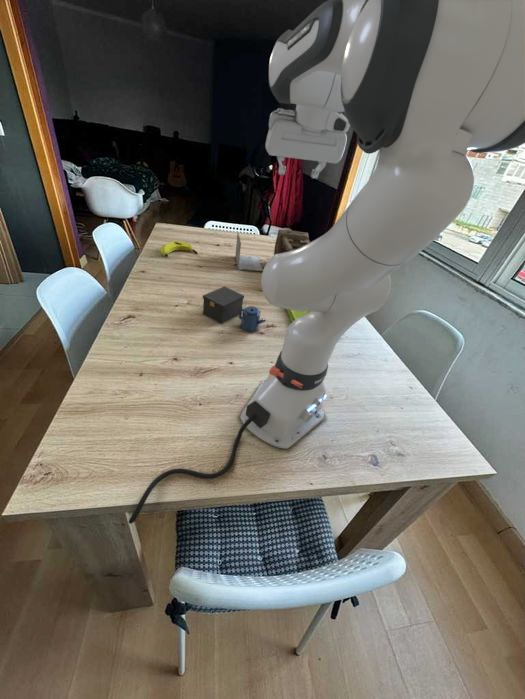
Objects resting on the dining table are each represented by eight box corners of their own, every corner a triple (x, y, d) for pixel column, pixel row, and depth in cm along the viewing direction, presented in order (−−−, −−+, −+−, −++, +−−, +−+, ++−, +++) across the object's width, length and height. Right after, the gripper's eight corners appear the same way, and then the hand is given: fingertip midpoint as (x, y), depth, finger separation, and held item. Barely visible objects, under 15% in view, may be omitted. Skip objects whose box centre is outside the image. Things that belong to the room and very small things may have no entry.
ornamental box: (316, 298, 135) (332, 261, 124) (280, 291, 130) (294, 251, 119) (299, 266, 162) (311, 233, 151) (269, 259, 157) (279, 225, 146)
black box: (221, 324, 101) (222, 306, 97) (201, 314, 105) (201, 295, 101) (242, 313, 110) (244, 295, 105) (223, 303, 113) (224, 286, 109)
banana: (155, 246, 138) (184, 259, 137) (174, 235, 151) (200, 246, 150) (155, 255, 141) (183, 267, 141) (174, 243, 154) (199, 254, 153)
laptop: (262, 272, 144) (266, 245, 136) (237, 269, 141) (240, 242, 134) (258, 258, 158) (261, 233, 150) (235, 256, 155) (237, 231, 148)
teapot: (233, 324, 103) (235, 305, 98) (243, 318, 107) (245, 299, 102) (257, 337, 98) (261, 318, 94) (267, 330, 103) (271, 311, 98)
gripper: (273, 111, 65) (262, 177, 76) (356, 125, 69) (334, 185, 81) (268, 102, 68) (258, 166, 79) (347, 115, 73) (328, 174, 84)
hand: (297, 175), depth 80 cm, fingers open, 8 cm apart
